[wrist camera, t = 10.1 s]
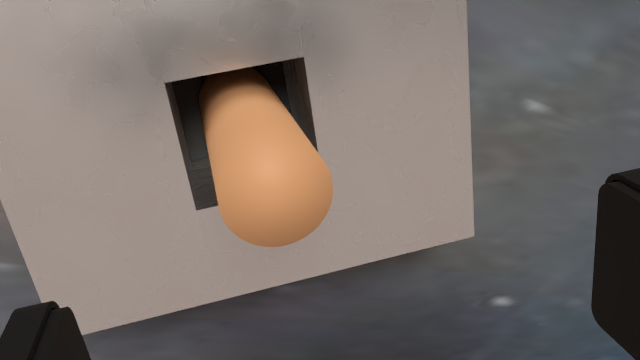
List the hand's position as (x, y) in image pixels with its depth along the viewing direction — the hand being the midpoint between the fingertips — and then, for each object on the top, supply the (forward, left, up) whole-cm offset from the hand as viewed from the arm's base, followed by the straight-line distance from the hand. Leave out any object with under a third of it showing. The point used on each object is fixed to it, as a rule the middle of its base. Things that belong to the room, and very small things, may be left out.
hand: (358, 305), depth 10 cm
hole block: (+1, 0, -15) cm, 15 cm away
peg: (+1, 0, -15) cm, 15 cm away
